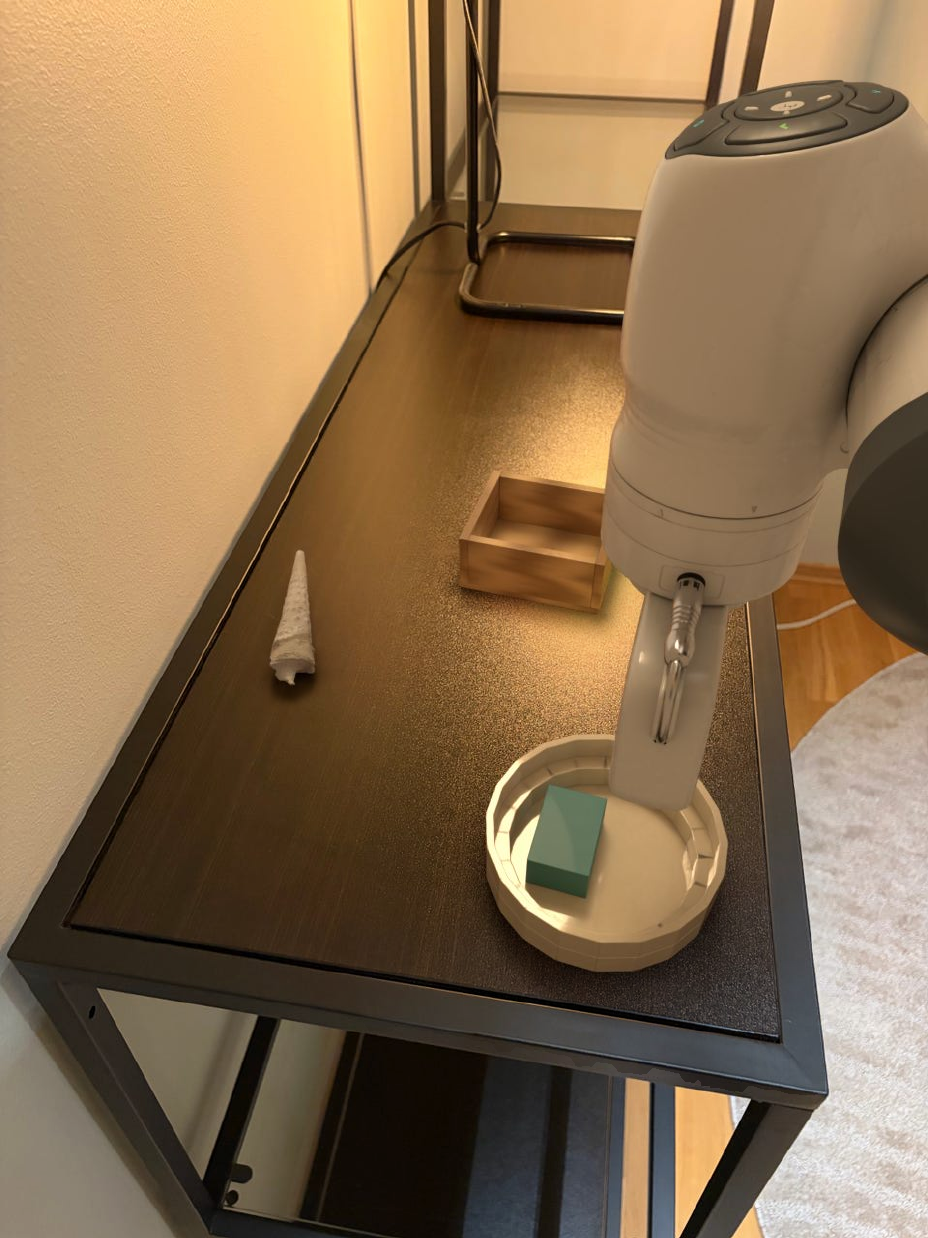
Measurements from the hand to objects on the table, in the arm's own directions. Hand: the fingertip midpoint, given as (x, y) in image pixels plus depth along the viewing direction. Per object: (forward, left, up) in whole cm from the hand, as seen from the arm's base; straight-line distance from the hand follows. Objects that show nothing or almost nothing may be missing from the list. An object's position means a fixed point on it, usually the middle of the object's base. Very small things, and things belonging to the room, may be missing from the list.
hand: (662, 713), depth 48 cm
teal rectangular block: (+4, +1, -14) cm, 15 cm away
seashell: (+30, -13, -15) cm, 36 cm away
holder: (+13, -28, -15) cm, 34 cm away
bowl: (+2, +1, -15) cm, 15 cm away
